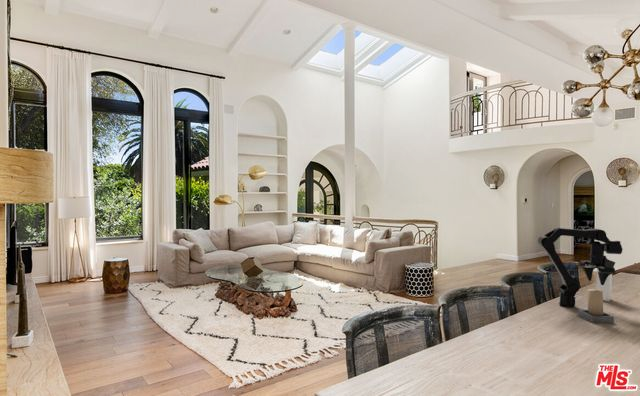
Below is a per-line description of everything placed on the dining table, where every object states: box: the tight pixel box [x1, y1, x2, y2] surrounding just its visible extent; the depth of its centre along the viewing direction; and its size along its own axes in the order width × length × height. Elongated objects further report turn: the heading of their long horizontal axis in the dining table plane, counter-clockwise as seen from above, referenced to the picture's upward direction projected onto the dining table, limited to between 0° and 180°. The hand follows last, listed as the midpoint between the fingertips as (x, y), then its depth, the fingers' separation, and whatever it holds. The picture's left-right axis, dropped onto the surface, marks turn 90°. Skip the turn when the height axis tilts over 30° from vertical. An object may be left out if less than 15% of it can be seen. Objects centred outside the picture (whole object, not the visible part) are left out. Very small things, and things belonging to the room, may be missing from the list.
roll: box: [587, 288, 604, 316], centre depth 194 cm, size 6×6×13 cm
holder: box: [578, 309, 615, 324], centre depth 194 cm, size 10×10×3 cm
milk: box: [595, 268, 613, 302], centre depth 229 cm, size 6×6×22 cm
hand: (595, 282), depth 213 cm, fingers open, 9 cm apart
